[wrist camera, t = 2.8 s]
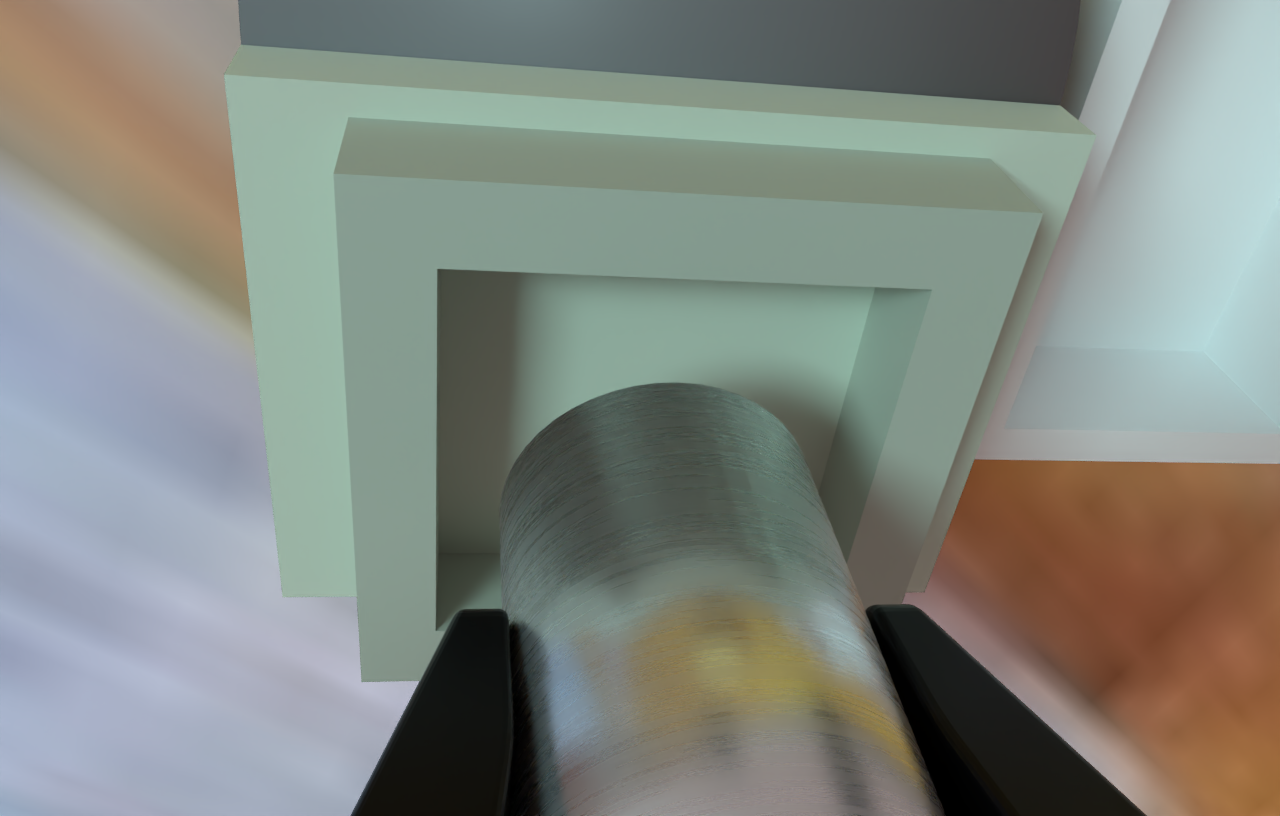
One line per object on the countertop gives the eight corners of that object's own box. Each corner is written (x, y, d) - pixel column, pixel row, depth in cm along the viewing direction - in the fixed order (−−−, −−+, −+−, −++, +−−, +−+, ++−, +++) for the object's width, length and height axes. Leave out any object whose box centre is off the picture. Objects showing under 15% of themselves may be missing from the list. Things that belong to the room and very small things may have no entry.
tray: (1476, -188, 15) (1674, -152, 12) (1200, 362, 20) (1300, 464, 17) (1071, -242, 14) (1199, -215, 11) (894, 352, 19) (955, 458, 16)
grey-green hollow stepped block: (950, -211, 14) (1282, -98, 8) (811, 354, 19) (955, 669, 13) (298, -293, 12) (146, -227, 7) (336, 339, 17) (267, 684, 12)
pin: (840, 385, 10) (1204, 1145, 5) (777, 618, 11) (998, 1344, 7) (505, 377, 9) (538, 1214, 4) (493, 621, 11) (505, 1411, 6)
